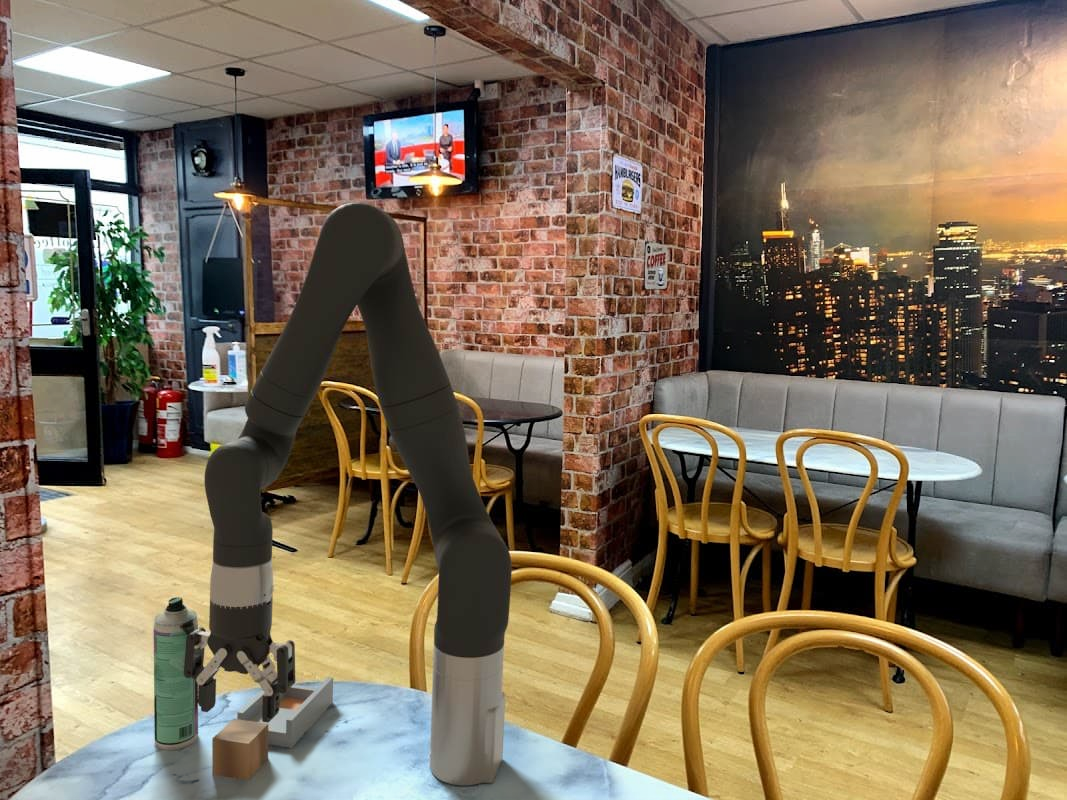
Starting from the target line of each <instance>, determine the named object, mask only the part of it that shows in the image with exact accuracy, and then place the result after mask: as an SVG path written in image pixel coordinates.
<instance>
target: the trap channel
mask: <svg viewBox="0 0 1067 800" xmlns="http://www.w3.org/2000/svg"><path fill="white" fill-rule="evenodd" d="M264 694H265V693H264V691H263V690H262V689H261V690H260V692H258V693H257V694H256V695H255V696H254V697H252V698H251V700H249V702H247V703H246V704H245V705H244V706H243V707H242V708H241V709H239V710H238V711H237V713H236V714H237V718H236V719H239V720H246V721H253V722H260V723H267V722H263V721H262V707H263V695H264ZM333 701H334V677H330V676H327V677H326V679H325V680H323V682H321V684H319V686H318V687H314V686H307V685H299V684H294V685H292V686H291V687H290V688H289V689H288V690H287V691H286V692H285V693H280V702H279V703H280V704H279V712H278V714H277V715H276V716H275V717H274V718H273V719H272V720H271V721H270V722H269V723H267V724H268V746H269V745H270V746H277V747H284V748H289V749H292V748H293V747H294V746H295V745H296V744H297V743H298V741H299V740H300V739H301V738H302V737H303V736H304V735H305V734H306V733H307V732H308V731H309V729H310V728H311V727H312V726H313V725H314V724H315V723H316V721H318V720H319V718H320V717H321V716H322V715H323V714H324V712H325V711H327V709H328V708H330V706H331V705H332V704H333ZM305 732H306V733H305ZM304 733H305V734H304Z"/></svg>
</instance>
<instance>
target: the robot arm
mask: <svg viewBox="0 0 1067 800" xmlns="http://www.w3.org/2000/svg"><path fill="white" fill-rule="evenodd" d="M404 244H405V242H404V239H403V233H402V231H401V229H400V227H399V225H398V223H397V222H396V220H395V219H394V218H393V217H392V216H391V215H390V214H389V213H388V212H386V211H385V210H384V209H381V208H379V207H377V206H376V205H375V206H374V205H373V204H369V203H366V202H362V201H361V202H359V201H358V202H357V201H355V202H348V203H345V204H342V205H339V206H338V207H337V208H335V209H333V210H332V211H331V212H330V213H329V214H328V215H327V216H326V218H325V219H324V221H323V223H322V225H321V228H320V232H319V236H318V237H317V240H316V245H315V248H314V251H313V255H312V258H311V261H310V264H309V268H308V270H307V273H306V276H305V279H304V282H303V285H302V288H301V290H300V293H299V294H298V297H297V300H296V302H295V305H294V307H293V309H292V311H291V313H290V315H289V318H288V320H287V321H286V323H285V325H284V327H283V329H282V331H281V333H280V336H279V337H278V339H277V341H276V343H275V344H274V346H273V348H272V350H271V352H270V354H269V356H268V358H267V360H266V362H265V363H264V365H263V367H262V369H261V370H260V373H259V375H258V377H257V379H256V380H255V382H254V384H253V387H252V388H251V390H250V392H249V394H248V397H247V400H246V401H245V404H244V405H245V406H244V411H245V414H246V417H247V420H246V422H245V424H244V427H243V429H242V431H241V433H240V435H239V436H238V438H237V439H235V440H232V441H228V442H227V443H222V444H221V445H219V446H217V448H215V449H214V450H213V451H212V452H211V454H210V456H209V457H208V460H207V462H206V464H205V465H206V466H205V469H204V491H205V495H206V496H205V497H206V500H207V506H208V510H209V514H210V518H211V521H212V525H213V538H212V567H211V572H210V581H209V617H208V618H209V621H208V622H209V623H208V625H209V626H208V628H209V632H208V631H206V629H205V628H204V627H203V626H199V627H198V629H196V630H195V631H193V632H192V633H190V634H189V635H187V637H186V649H185V662H184V676H185V677H186V678H193V679H195V680H196V682H197V683H198V707H200V711H201V712H203V713H209V712H210V711H211V710H212V709H213V708H215V705H216V700H217V699H216V697H217V695H216V693H217V678H214V677H215V676H216V675H217V674H218V672H219V671H220V670H221V669H224V672H229V673H231V672H237V673H239V674H243V675H248V674H249V675H250V677H251V679H252V681H253V682H255V683H256V684H257V683H258V685H259V686H260V688H261V691H262V690H263V691H264V693H265V694H264V695H263V707H262V721H263V722H267V723H269V722H270V721H271V720H272V719H273V718H274V717H275V716H276V715H277V714H278V712H279V704H280V703H279V702H280V693H285V692H286V691H287V690H288V689H289V688H290V687H291V686H292V685H296V684H295V683H296V654H295V653H296V651H295V647H296V646H295V645H296V644H295V642H294V641H293V640H291V639H290V640H287V641H286V642H274V640H273V639H272V636H271V630H272V625H273V603H274V602H273V599H274V598H273V596H274V595H273V594H274V587H275V586H274V569H273V535H274V534H273V522H272V519H271V517H270V516H269V515H268V514H267V513H266V512H263V509H262V499H261V497H262V496H261V492H262V490H263V489H266V488H267V487H269V486H270V485H272V484H273V483H274V482H275V481H276V480H277V479H278V477H279V476H280V475H281V472H282V471H283V469H284V467H285V466H286V464H287V462H288V460H289V457H290V454H291V451H292V448H293V445H294V442H295V439H296V434H297V430H298V428H299V426H300V424H301V422H302V421H303V419H304V418H305V416H306V414H307V412H308V410H309V408H310V406H311V405H312V403H313V400H314V399H315V398H316V395H317V393H318V391H319V389H320V386H321V385H322V383H323V381H324V379H325V376H326V374H327V370H328V368H329V366H330V363H331V361H332V357H333V355H334V352H335V349H336V347H337V344H338V342H339V340H340V337H341V334H342V333H343V330H344V328H345V327H346V324H347V322H348V321H349V319H350V317H351V315H352V313H353V312H354V310H355V309H356V307H357V308H358V311H359V313H360V316H361V319H362V322H363V325H364V329H365V335H366V339H367V346H368V347H367V348H368V354H369V355H368V356H369V359H370V360H369V361H370V367H371V368H370V369H371V374H372V379H373V383H374V389H375V394H376V397H377V400H378V403H379V406H380V410H381V412H382V415H383V418H384V421H385V423H386V425H387V429H388V431H389V434H390V437H391V439H392V441H393V444H394V446H395V449H396V450H397V453H398V455H399V456H400V459H401V460H402V463H403V465H404V466H405V468H406V470H407V472H408V473H409V476H410V478H411V479H412V481H413V483H414V484H415V487H416V488H417V491H418V493H419V496H420V498H421V501H422V504H423V507H424V510H425V514H426V515H425V516H426V519H427V523H428V526H429V532H430V536H431V540H432V546H433V551H434V558H435V563H436V566H437V570H438V579H437V580H438V581H437V584H438V585H437V586H438V587H437V614H436V621H435V623H434V629H433V633H434V634H433V659H432V662H433V663H432V683H431V684H432V688H431V689H432V691H431V714H430V715H431V717H430V721H431V722H430V746H429V747H430V750H429V769H430V772H431V774H432V775H434V777H435V778H437V779H438V780H439V781H442V782H444V783H446V784H450V785H456V786H472V785H474V786H475V785H479V784H482V783H488V784H493V782H494V781H495V778H496V775H497V774H498V771H499V768H500V766H501V763H502V761H503V758H504V757H503V756H504V734H505V714H506V692H504V691H503V673H504V655H505V654H504V651H505V637H506V631H507V629H508V625H509V620H510V604H511V590H512V588H511V587H512V572H513V571H512V557H511V554H510V550H509V548H508V546H507V545H506V543H505V541H504V539H503V538H502V536H501V534H500V532H499V530H498V529H497V528H496V525H495V524H494V523H493V521H492V519H491V517H490V514H489V513H488V510H487V509H486V506H485V504H484V502H483V499H482V497H481V495H480V492H479V490H478V488H477V485H476V481H475V480H474V475H473V473H472V469H471V464H470V463H471V462H470V456H469V448H468V443H467V438H466V432H465V428H464V427H465V426H464V424H463V419H462V415H461V411H460V408H459V405H458V402H457V398H456V396H455V395H456V394H455V393H454V390H453V387H452V384H451V380H450V378H449V376H448V373H447V370H446V368H445V365H444V362H443V359H442V357H441V355H440V353H439V350H438V348H437V346H436V343H435V341H434V338H433V336H432V334H431V332H430V329H429V327H428V325H427V323H426V321H425V319H424V316H423V314H422V312H421V309H420V306H419V302H418V299H417V296H416V292H415V288H414V285H413V280H412V276H411V273H410V267H409V263H408V258H407V254H406V253H407V252H406V250H405V249H406V248H405V245H404ZM207 646H208V648H209V649H210V651H211V653H212V655H213V657H212V658H211V659H210V660H209V662H207V664H206V665H205V666H204V658H205V647H207ZM270 653H271V654H272V655H273V661H274V662H276V666H275V664H274V662H273V661H272V659H271V657H270V656H269V654H270ZM260 666H261V667H262V670H261V669H260Z"/></svg>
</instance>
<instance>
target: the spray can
mask: <svg viewBox="0 0 1067 800" xmlns="http://www.w3.org/2000/svg"><path fill="white" fill-rule="evenodd" d="M198 628H199V619H198V614H197V612H196V611H194V610H192V609H188V606H187V605H185V604H184V600H183V597H180V596H179V597H172V598H170V599H169V600H168V605H167V606H166V607H165V608H164V611H162V612H161V613H159V614H157V615H156V616H154V622H153V694H154V695H153V697H154V698H153V704H154V705H153V706H154V708H153V709H154V710H153V712H154V713H153V714H154V721H153V723H154V745H155V746H156V747H157V748H159V749H161V750H165V751H166V750H168V751H173V750H179V749H183V748H185V747H188V746H190V745H192V744H193V743H195V742H196V740H198V737H199V704H198V683H197V682H196V680H195V679H193V678H186V677H185V676H184V662H185V649H186V637H187V635H189V634H190V633H192V632H193V631H195V630H196V629H198Z"/></svg>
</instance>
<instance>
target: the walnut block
mask: <svg viewBox="0 0 1067 800" xmlns="http://www.w3.org/2000/svg"><path fill="white" fill-rule="evenodd" d="M211 740H212V741H211V742H212V744H211V745H212V746H211V747H212V749H211V750H212V751H211V753H212V756H211V757H212V758H211V759H212V760H211V761H212V768H211V769H212V770H211V772H212V773H211V774H212V775H214V776H220V777H225V778H226V777H227V778H230V779H231V778H233V779H239V780H245V781H249V780H250V779H251V778H252V777H253V776H254V775H255V773H257V771H258V770H259V769H260V768H261V767H262V766H264V763H266V761H267V760H269V744H268V724H267V723H260V722H253V721H246V720H239V719H237V718H233V719H232V720H231V721H230V722H228V723H227V724H226V725H225V726H224V727H223V728H221V730H219V732H218V733H217V734H215V735H214V736H213V737H212V739H211Z"/></svg>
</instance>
